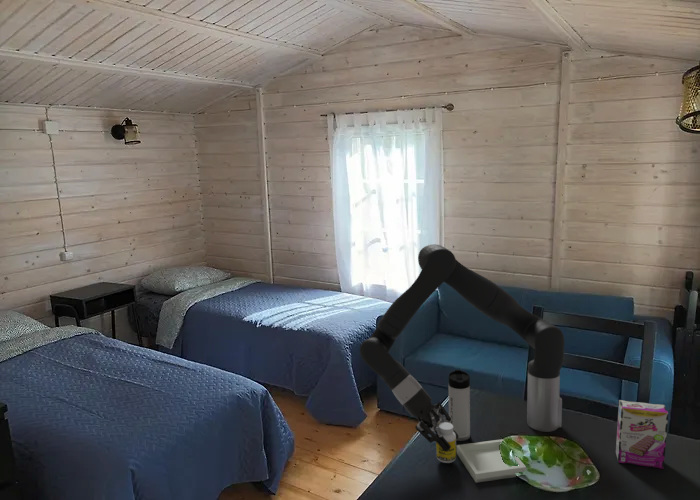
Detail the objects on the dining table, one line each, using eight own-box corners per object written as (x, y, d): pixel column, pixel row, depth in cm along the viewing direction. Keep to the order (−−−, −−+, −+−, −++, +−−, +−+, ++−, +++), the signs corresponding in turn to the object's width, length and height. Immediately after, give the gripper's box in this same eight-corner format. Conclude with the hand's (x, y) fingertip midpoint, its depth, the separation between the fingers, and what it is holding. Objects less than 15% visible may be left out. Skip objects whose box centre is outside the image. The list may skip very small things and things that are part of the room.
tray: (502, 447, 150) (502, 439, 150) (525, 475, 137) (526, 466, 136) (456, 453, 148) (456, 445, 148) (475, 482, 135) (475, 473, 134)
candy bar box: (618, 463, 140) (620, 407, 137) (615, 453, 145) (617, 399, 142) (665, 470, 136) (669, 412, 133) (660, 459, 141) (664, 403, 138)
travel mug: (468, 430, 161) (468, 369, 157) (471, 441, 154) (471, 378, 151) (448, 429, 161) (447, 369, 158) (450, 441, 155) (449, 378, 151)
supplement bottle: (436, 463, 142) (435, 430, 140) (436, 452, 147) (435, 420, 145) (456, 464, 141) (456, 431, 139) (455, 452, 146) (455, 421, 144)
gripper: (409, 398, 138) (452, 451, 134) (429, 378, 150) (470, 425, 146) (392, 413, 142) (433, 464, 138) (413, 391, 154) (452, 438, 150)
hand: (452, 443), depth 142 cm, fingers closed on supplement bottle, 5 cm apart
